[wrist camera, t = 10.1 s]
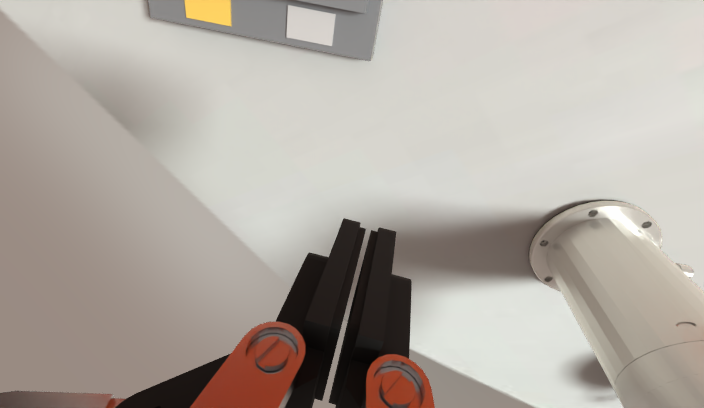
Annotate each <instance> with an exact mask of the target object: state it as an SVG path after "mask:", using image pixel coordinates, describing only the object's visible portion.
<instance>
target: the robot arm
mask: <svg viewBox="0 0 704 408" xmlns="http://www.w3.org/2000/svg"><path fill="white" fill-rule="evenodd" d="M365 231H366V229H364V228H361V227H360V222H356V221H352V220H348V219H343V221H342V224H341V227H340V229H339V232H338V235H337V237H336V240H335V242H334V245H333V248H332V250H331V253H330V256H329V258H328V257H324V256H321V255H317V254H313V253H308V255H307V257H306V259H305V261H304V263H303V265H302V267H301V269H300V271H299V273H298V275H297V278H296V280H295V282H294V284H293V286H292V288H291V290H290V292H289V294H288V296H287V299H286V301H285V303H284V305H283V307H282V309H281V311H280V313H279V315H278V317H277V320H276V322H266V323H263V324H260V325H258V326H256V327H254V328H252V329H251V330H250V331H249V332H248V333H247V334H246V335H245V336H244V337H243V338H242V340H241V341H240V342H239V344H238V345H237V346H236V348H235V349H234V350H233V352H232V353H231V354H229V355H227V356H224V357H222V358H219V359H217V360H214V361H212V362H210V363H207V364H205V365H203V366H200V367H198V368H195V369H193V370H191V371H188V372H186V373H184V374H181V375H179V376H176V377H174V378H172V379H169V380H167V381H165V382H162V383H160V384H157V385H155V386H153V387H150V388H148V389H146V390H143V391H141V392H138V393H136V394H134V395H132V396H131V397H129V398H127V399H121V398H120V399H119V398H114V396H113V394H100V393H99V394H97V393H69V392H67V393H66V392H37V391H11V392H3V393H0V408H312V406H313V402H314V399H318V400H322V399H323V395H324V392H325V388H326V384H327V380H328V376H329V372H330V368H331V364H332V360H333V357H334V353H335V349H336V345H337V341H338V337H339V333H340V329H341V325H342V321H343V317H344V314H345V310H346V306H347V302H348V298H349V294H350V290H351V286H352V282H353V278H354V274H355V270H356V266H357V262H358V258H359V254H360V250H361V246H362V242H363V238H364V234H365ZM395 238H396V232H395V231H391V230H387V229H383V228H379V229H378V232H376V231H372V230H371V233H370V237H369V241H368V245H367V248H366V252H365V256H364V260H363V264H362V267H361V271H360V275H359V279H358V283H357V286H356V290H355V294H354V298H353V302H352V306H351V311H350V315H349V319H348V323H347V327H346V332H345V336H344V340H343V345H342V348H341V353H340V357H339V361H338V365H337V370H336V374H335V378H334V382H333V386H332V390H331V395H330V399H329V403H332V404H335V405H336V408H435V406H434V400H433V394H432V389H431V386H430V383H429V379H428V378H427V376H426V375H425V373H424V371H423V370H422V369H421V368H420V367H419V366H418V365H417V364H416V363H415V362H413V361H412V360H410V359H409V343H410V313H411V279H407V278H404V277H400V276H396V275H392V274H391V273H392V264H393V255H394V247H395ZM661 247H662V233H661V229H660V227H659V226H658V224H657V222H656V221H655V220H654V219H653V218H652V217H651V216H650V215H649V214H648V213H646V212H645V211H643V210H642V209H641V208H639V207H636V206H634V205H631V204H629V203H624V202H619V201H597V202H590V203H586V204H582V205H578V206H575V207H573V208H570V209H568V210H565V211H564V212H562V213H560V214H558V215H556V216H555V217H553V218H552V219H551V220H549V221H548V222H547V223H546V224H545V225H544V226H543V227H542V228H541V229H540V230H539V231H538V233H537V234H536V236H535V237H534V239H533V241H532V244H531V246H530V252H529V258H530V264H531V266H532V268H533V271H534V272H535V274H536V276H537V277H538V278H539V279H540V280H541V281H542V282H543V283H544V284H546V285H547V286H549V287H551V288H553V289H555V290H558V291H561V292H562V294H563V296H564V298H565V300H566V301H567V303H568V305H569V307H570V309H571V311H572V313H573V314H574V316H575V318H576V320H577V322H578V324H579V326H580V327H581V329H582V331H583V333H584V335H585V337H586V339H587V340H588V342H589V344H590V346H591V348H592V350H593V352H594V353H595V355H596V357H597V359H598V361H599V363H600V365H601V366H602V368H603V370H604V372H605V374H606V376H607V378H608V379H609V381H610V383H611V385H612V387H613V389H614V391H615V392H616V394H617V397H618V398H619V400H620V402H621V404H622V406H623V407H624V408H704V291H703V290H701V289H700V288H699V287H698V286H697V285H696V284H695V283H694V282H693V281H692V280H691V279H690V278H691V277H692V276H693V274H694V270H693V269H692V267H690V266H687V265H682V264H677V263H674V262H673V261H672V260H671V259H670V258H669V257H668V256H667V255H666V254H665V253H664V252H663V251H662V250H661Z"/></svg>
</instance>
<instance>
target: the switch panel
mask: <svg viewBox="0 0 704 408" xmlns="http://www.w3.org/2000/svg"><path fill="white" fill-rule="evenodd" d="M382 3H383V0H148V4H149V10H150V17H151V18H155V19H160V20H165V21H170V22H175V23H180V24H185V25H190V26H195V27H200V28H205V29H210V30H215V31H220V32H225V33H230V34H235V35H240V36H245V37H251V38H256V39H261V40H266V41H271V42H276V43H281V44H286V45H291V46H296V47H301V48H306V49H311V50H316V51H321V52H326V53H331V54H336V55H341V56H346V57H352V58H357V59H362V60H367V61H371V60H372V58H373V53H374V48H375V42H376V36H377V31H378V25H379V20H380V14H381V9H382Z"/></svg>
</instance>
